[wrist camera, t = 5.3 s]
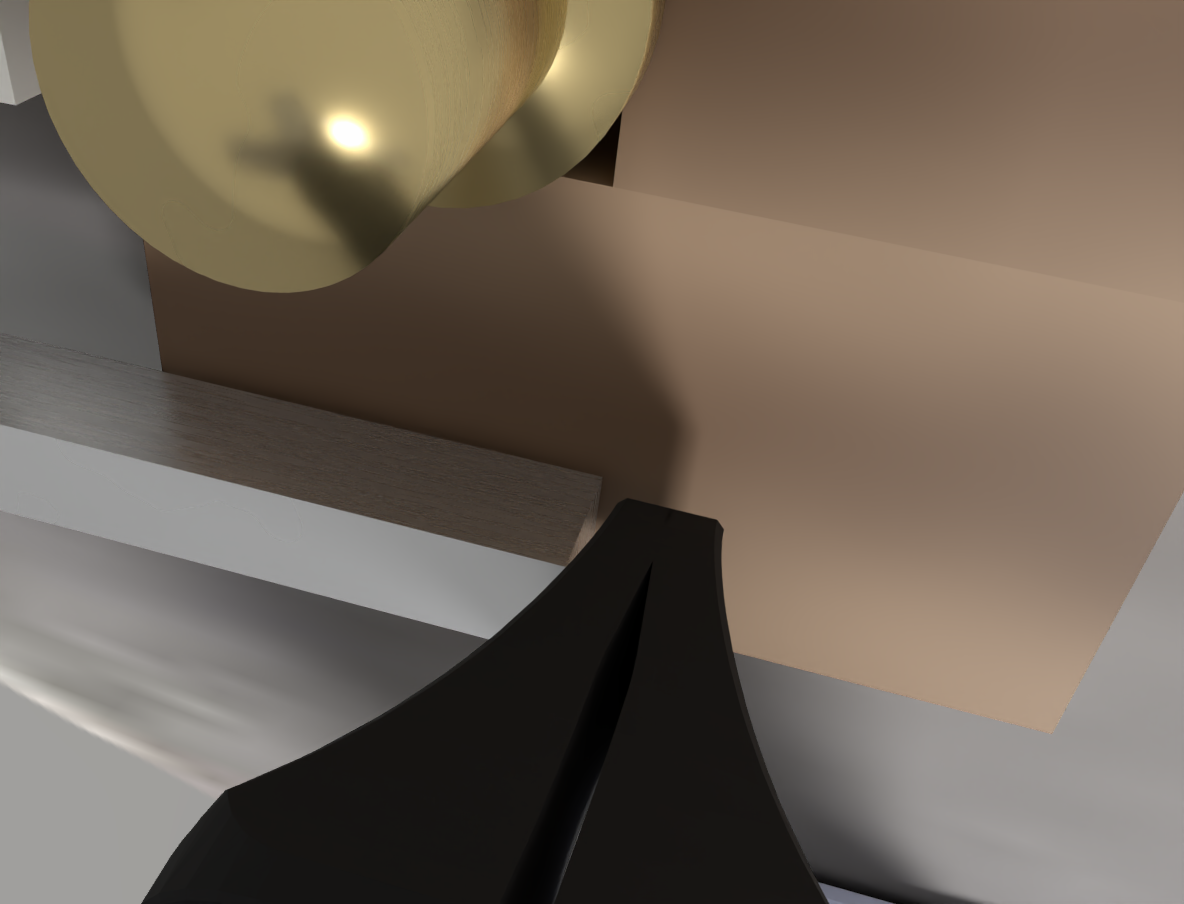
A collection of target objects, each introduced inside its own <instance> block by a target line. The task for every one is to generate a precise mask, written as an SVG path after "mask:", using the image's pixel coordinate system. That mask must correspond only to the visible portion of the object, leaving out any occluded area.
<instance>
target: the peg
mask: <svg viewBox="0 0 1184 904" xmlns="http://www.w3.org/2000/svg"><path fill="white" fill-rule="evenodd" d="M665 4H666V0H29V35H30V42H31V50H32V57H33V63H34V67H35V71H36V75H37V79H38V83H39V87H40V90H41V93H42V96H43V98H44V101H45V104H46V107H47V110H48V112H49V115H50V117H51V119H52V121H53V124H54V126H55V128H56V130H57V132H58V134H59V136H60V139H61V141H62V142H63V144H64V146H65V147H66V149H67V151H68V153H69V154H70V156H71V158H72V159H73V161H74V163H75V164H76V166H77V167H78V169H79V170H80V172H81V173H82V174H83V176H84V177H85V179H86V180H87V181H88V183H89V184H90V186H91V187H92V188H93V189H94V191H95V192H96V193H97V194H98V195H99V196H100V198H101V199H102V200H103V201H104V202H105V203H106V205H107V206H108V207H109V208H110V209H111V210H112V211H113V212H114V213H115V214H116V215H117V216H118V217H119V218H120V219H121V220H122V221H123V222H124V223H125V224H126V225H127V226H128V227H129V228H130V229H131V230H133V231H134V232H135V233H136V234H138V235H139V236H140V237H141V238H143V239H144V240H145V241H146V242H147V243H149V244H150V245H151V246H153V247H154V248H156V249H157V250H159V251H160V252H162V253H163V254H165V255H166V256H168V257H169V258H171V259H172V260H174V261H176V262H178V263H179V264H181V265H183V266H185V267H187V268H189V269H191V270H192V271H194V272H196V273H199V274H201V275H204V276H206V277H209V278H211V279H213V280H216V281H218V282H222V283H225V284H229V285H232V286H236V287H239V288H243V289H249V290H255V291H261V292H277V293H291V292H301V291H310V290H314V289H318V288H322V287H326V286H330V285H333V284H335V283H337V282H340V281H342V280H344V279H347V278H349V277H351V276H353V275H354V274H356V273H357V272H359V271H361V270H362V269H364V268H365V267H367V266H368V265H370V264H371V263H372V262H373V261H374V260H375V259H376V258H377V257H379V256H380V255H381V254H382V253H383V252H384V251H385V250H386V249H387V248H388V247H389V246H390V245H391V244H392V243H393V242H394V241H395V240H396V239H397V237H398V236H399V235H400V234H401V233H402V232H403V231H404V230H405V229H406V228H407V227H408V226H409V225H410V224H411V223H412V222H413V221H414V220H415V218H416V217H417V216H418V215H419V214H420V213H421V212H422V211H423V210H424V209H425V208H426V207H427V206H433V207H440V208H473V207H481V206H489V205H495V204H499V203H503V202H506V201H510V200H514V199H518V198H520V197H523V196H525V195H527V194H530V193H532V192H534V191H537V190H539V189H541V188H543V187H545V186H546V185H548V184H550V183H551V182H553V181H555V180H556V179H558V178H560V177H561V176H563V175H564V174H566V173H567V172H568V171H569V170H570V169H572V168H573V167H574V166H575V165H577V164H578V163H579V162H580V161H581V160H583V159H584V158H585V157H586V156H587V155H588V154H589V153H590V151H591V150H592V149H593V148H594V147H595V146H596V145H597V144H598V143H599V141H600V140H601V139H602V138H603V137H604V136H605V134H606V133H607V131H608V130H609V129H610V127H611V126H612V124H613V123H614V122H615V120H616V119H617V117H618V116H619V115H620V113H621V112H622V110H623V109H624V107H625V106H626V104H627V103H628V101H629V100H630V98H631V97H632V95H633V94H634V92H635V91H636V89H637V88H638V86H639V84H640V82H641V80H642V78H643V76H644V74H645V72H646V69H647V67H648V65H649V63H650V61H651V58H652V55H653V52H654V49H655V46H656V43H657V40H658V37H659V34H660V29H661V24H662V19H663V14H664V9H665Z"/></svg>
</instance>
